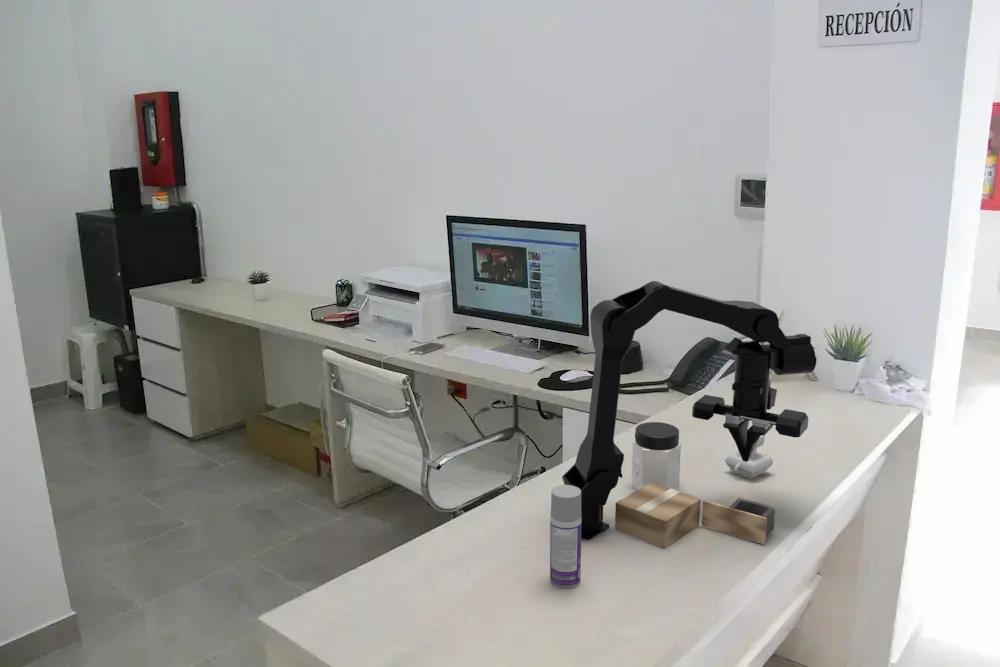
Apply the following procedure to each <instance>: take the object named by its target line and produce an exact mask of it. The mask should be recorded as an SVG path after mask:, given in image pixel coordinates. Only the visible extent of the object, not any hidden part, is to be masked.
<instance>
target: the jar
mask: <svg viewBox="0 0 1000 667" xmlns="http://www.w3.org/2000/svg"><path fill="white" fill-rule="evenodd" d="M634 431H635V432H634V438H635V439H634V440H632V453H631V454H632V456H631V458H632V459H631V482H630V484H631V486H632V487H633V488H634V490H636V491H637V490H639V489H641V488H643V487H644V486H646V485H648V484H650V483H651V482H652V483H655V484H658V485H661V486H664V487H667V488H670V489H674V490H677V491H679V490H680V471H681V450H682V444H681V443H680V430H679V429H678V427H676V426H675V425H674V424H673V425H672V424H670V423H665V422H661V421H651V422H650V421H647V422H643V423H640V424H638V425H636V427H635V430H634Z"/></svg>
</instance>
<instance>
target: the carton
mask: <svg viewBox="0 0 1000 667" xmlns="http://www.w3.org/2000/svg"><path fill="white" fill-rule="evenodd" d="M701 503H702V500H701V498H699V497H696V496H692V495H689V494H687V493H684V492H681V491H679V490H674V489H670V488H667V487H664V486H661V485H658V484H655V483H652V482H651V483H650V484H648V485H646V486H644V487H643V488H641V489H639V490H636V491H634V492H632V493H630V494H629V495H627V496H625V497H623V498H622V499H620V500H617V501H616V502H615V510H614V511H615V512H614V514H615V515H614V516H615V517H614V530H615V531H618V532H621V533H623V534H626V535H629V536H631V537H633V538H636V539H639V540H640V541H641V540H642V541H644V542H647V543H649V544H651V545H654V546H655V547H657V548H658V547H659V548H661V549H667V548H668V547H670V546H671V545H673V544H674V543H676V542H677V541H678V540H680V539H681V538H683V537H685V536H686V535H687V534H689V533H690V532H692V531H693V530H695V529H696V528H698V527H699V526H700V518H701Z"/></svg>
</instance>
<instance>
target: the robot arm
mask: <svg viewBox="0 0 1000 667" xmlns="http://www.w3.org/2000/svg"><path fill="white" fill-rule="evenodd" d="M664 310H665V311H666V310H667V311H669V312H673V313H677V314H682V315H685V316H689V317H692V318H696V319H700V320H703V321H706V322H710V323H714V324H718V325H721V326H724V327H726V328H728V329H730V330H732V331H734V332H736V333H738V334H741V335H742V336H743V337H746V338H748V339H750V340H747V341H742V339H739V338H738V337H733V339H732V340H731V341H730V342H727V343H726V345H724V346H723V349H724V350H725V351H727V352H728V353H730V354H731V355H734V356H735V361H734V362H735V366H734V378H733V380H734V381H733V383H732V385H731V390H732V391H733V394H732V405H729V404H725V399H724V397H721V396H714V395H709V394H704V395H703V396H702V397H700V398H699V399H698V400H696V401H695V402H694V403H693V405H692V409H691V410H692V412H691V416H692V417H693V418H695V419H700V420H704V421H709V420H710V419H711V418H713V417H714V414H715V415H718V416H719V415H721V416H724V417H725V418H724V419H725V420H724V423H723V425H722V427H723V428H724V429H727V430H728V431H729V433H730V435H731V437H732V439H733V441H734V443H735V445H736V447H737V450H738V451H739V453H740V455H741V458H742V460H743V461H745V462H748V461H749V459H750V457H751V455H752V452H753V450H754V448H755V446H756V444H757V441H758V439H759V438H760V436H761V435H765V436H766V434H767V433H768V432H769V431H771V430H772V428H773V427H774V426H775V430H776V432H777V433H778V434H779V435H781V436H785V437H786V436H787V437H791V438H801V436H802V435H803V434H804V433H805V431H807V429H808V427H809V417H808V414H807V413H806V412H803V411H798V410H792V409H788V408H787V409H786V408H784V409H783V410H782V411H781V413H780V414H779V413H773V412H768V410H771V409H772V408H773V407H775V406H776V405H775V403H776V398H777V392H778V389H777V388H774V387H771V379H770V371H771V370H772V371H773V373H775V375H777V376H788V375H799V374H800V375H801V374H810V373H813V372H814V370H815V368H816V365H817V356H816V352H815V348H814V346H813V345H812V337H811V336H810V335H807V333H798V334H794V335H785V334H784V331H783V330H782V329H781V328H780V322H779V320H780V319H779V317H778V314H777V313H776V312H775V311H773V310H771V309H770V308H768V307H765V306H763V305H761V304H758V303H756V302H755V301H754V302H753V301H746V300H722V299H721V300H720V299H717V298H713V297H710V296H707V295H703V294H700V293H696V292H692V291H688V290H686V289H685V290H684V289H681V288H678V287H674V286H670V285H666V284H664V283H662V282H660V281H658V280H653V281H649V282H647V283H646V284H644V285H642V286H641V287H639V288H635V289H633V290H630V291H627V292H624V293H622V294H619V295H618V296H616V297H614V298H612V299H606V300H602V301H600V302H598V303H597V304H595V306H593V307H592V310H591V312H590V315H589V316H590V317H589V318H590V319H589V320H590V332H591V334H590V335H591V339H592V343H593V344H592V345H593V349H594V354H595V356H594V366H593V367H594V368H593V377H592V386H591V395H590V405H589V415H588V424H587V433H586V435H585V437H584V439H583V440H582V442H581V444H580V445H579V448H578V452H577V456H576V459H575V463H574V464H573V465H572V466H571V467H570V468H569V469H568V470H567V471H566V472H565V473H564V474H563V475H562V477H561V479H562V481H563V485H572V486H575V487H578V488H579V489H580V490H581V520H582V525H581V540H584V541H589V540H592V539H594V538H595V537H597V536H598V535H600V534H602V533H603V532H605V531H606V530H608V529H609V528H610V524H609V523H606V522H604V521H603V520H604V507H605V506H606V504H607V500H608V498H609V496H610V494H611V491H612V490H613V489H615V488H616V487H617V485H618V483H619V479H623V473H622V467H623V463H624V460H625V454H624V453H623V452H622V451H621V449H620V448H619V447H618V446H617V444H615V441H614V440H615V439H614V438H615V431H616V421H617V413H618V412H617V410H618V404H619V403H618V402H619V393H620V386H621V376H622V367H623V361H624V358H625V357H626V355H627V354H628V352H629V350H630V348H631V347H632V344H633V341H634V336H635V333H636V331H637V330H640V328H643V327H644V326H646V325H647V324H649V322H650V321H652V319H654V318H655V316H656V315H658V314H659V313H661V312H662V311H664ZM761 343H768V344H761ZM750 421H751V423H752V425H751V426H750V427H749V424H750V423H749V422H750Z"/></svg>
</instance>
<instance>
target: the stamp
mask: <svg viewBox="0 0 1000 667" xmlns="http://www.w3.org/2000/svg"><path fill="white" fill-rule="evenodd" d="M765 437H766V434H765V435H761V436H760V438H759V439H758V441H757V444H756V446H755V448H754V450H753V452H752V455H751V457H750V459H749V461H748V462H745V461H743V460H742V458H741V455H740V453H739V450H738V451H736V452H734V453H732V454H729V455H727V456H726V458H725V460H724V462H725V463H726V464H725V465H726V466H728V468H729V469H730V470H731V472H733V473H735V474H738V475H740V476H743V477H745V478H748V479H754V478H756V477H757V476H760V475H762V474H765V472H766V471H767V470H769V469H770V468H771V466H772V465H773V464H774V460H773V458H772V457H771V456H768V455H767V454H763V453H760V452H757V448H760V447H762V446H764V444H765V443H764V442H765Z"/></svg>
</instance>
